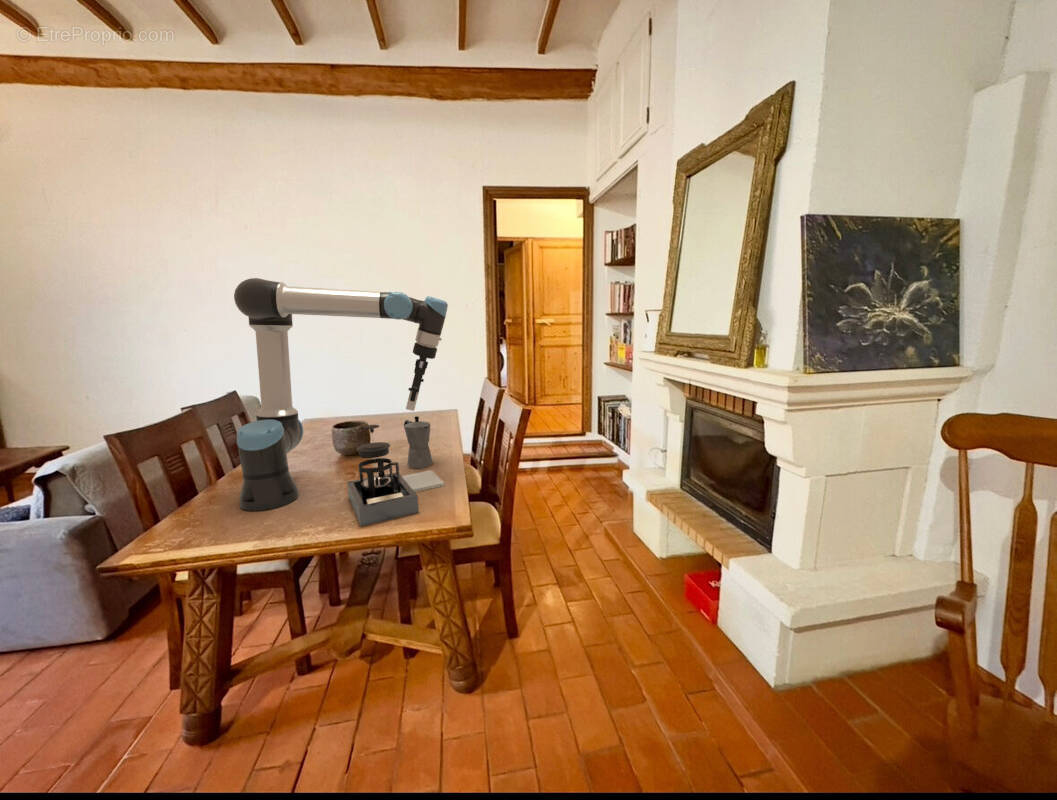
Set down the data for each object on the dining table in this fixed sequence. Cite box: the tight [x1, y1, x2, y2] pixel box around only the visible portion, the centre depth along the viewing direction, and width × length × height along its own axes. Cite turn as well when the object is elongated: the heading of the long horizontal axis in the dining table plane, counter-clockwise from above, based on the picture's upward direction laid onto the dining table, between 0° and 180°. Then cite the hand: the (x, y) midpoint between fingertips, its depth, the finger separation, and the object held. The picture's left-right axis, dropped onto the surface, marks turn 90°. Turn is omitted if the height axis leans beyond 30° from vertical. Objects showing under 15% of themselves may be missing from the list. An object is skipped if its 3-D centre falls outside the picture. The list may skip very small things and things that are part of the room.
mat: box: [401, 469, 446, 493], centre depth 142 cm, size 11×14×1 cm
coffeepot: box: [403, 416, 434, 470], centre depth 159 cm, size 15×9×18 cm, turn 45°
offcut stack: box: [366, 493, 403, 504], centre depth 119 cm, size 11×4×5 cm, turn 120°
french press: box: [356, 424, 401, 505], centre depth 125 cm, size 12×9×23 cm
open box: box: [346, 472, 420, 528], centre depth 125 cm, size 15×22×5 cm
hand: (411, 404), depth 150 cm, fingers open, 13 cm apart
